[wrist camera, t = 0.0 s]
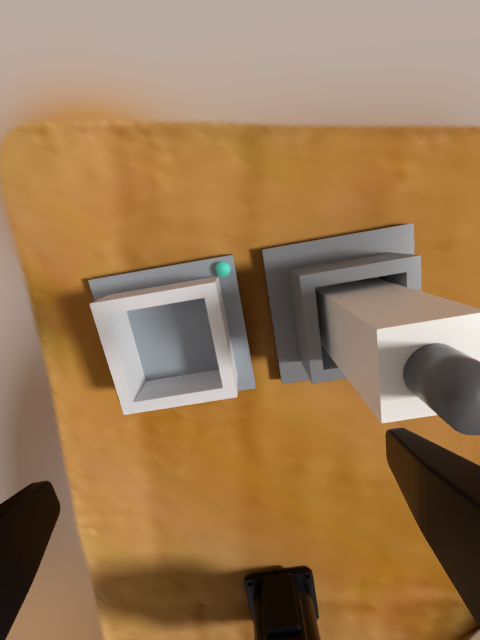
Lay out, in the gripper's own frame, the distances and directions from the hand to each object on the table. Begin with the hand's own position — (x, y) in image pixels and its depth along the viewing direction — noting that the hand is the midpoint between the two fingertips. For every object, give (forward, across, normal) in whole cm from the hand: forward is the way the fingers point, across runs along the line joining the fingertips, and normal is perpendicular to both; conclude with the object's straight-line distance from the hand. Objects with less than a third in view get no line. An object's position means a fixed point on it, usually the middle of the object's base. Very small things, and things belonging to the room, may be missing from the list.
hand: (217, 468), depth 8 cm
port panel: (+15, +4, 0) cm, 15 cm away
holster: (+15, -8, 0) cm, 17 cm away
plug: (+14, -8, 0) cm, 16 cm away
